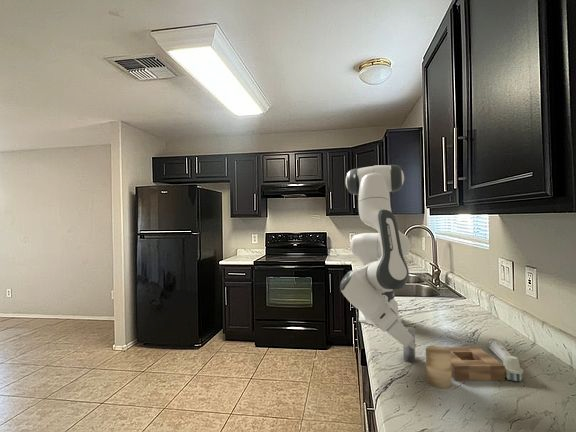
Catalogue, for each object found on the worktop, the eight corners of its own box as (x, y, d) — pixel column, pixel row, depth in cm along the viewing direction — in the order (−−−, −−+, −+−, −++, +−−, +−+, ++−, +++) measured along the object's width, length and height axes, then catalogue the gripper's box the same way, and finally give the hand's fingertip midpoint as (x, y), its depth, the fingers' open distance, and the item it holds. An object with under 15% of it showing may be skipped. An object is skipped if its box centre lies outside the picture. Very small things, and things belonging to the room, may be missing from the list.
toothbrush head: (502, 338, 117) (525, 357, 94) (503, 359, 116) (526, 382, 93) (485, 337, 119) (503, 354, 96) (485, 357, 118) (504, 379, 95)
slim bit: (401, 357, 112) (401, 327, 112) (412, 357, 112) (412, 326, 112) (405, 362, 108) (405, 330, 108) (417, 362, 108) (416, 330, 108)
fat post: (422, 376, 98) (422, 345, 98) (445, 376, 98) (444, 345, 98) (431, 388, 92) (431, 355, 92) (455, 388, 91) (455, 354, 91)
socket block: (434, 359, 110) (434, 347, 110) (477, 359, 110) (477, 346, 110) (454, 380, 96) (454, 366, 96) (505, 380, 96) (504, 365, 96)
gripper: (366, 311, 120) (394, 338, 120) (381, 330, 100) (415, 363, 100) (379, 298, 120) (407, 325, 120) (396, 315, 100) (430, 348, 100)
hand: (411, 343), depth 110 cm, fingers open, 4 cm apart
